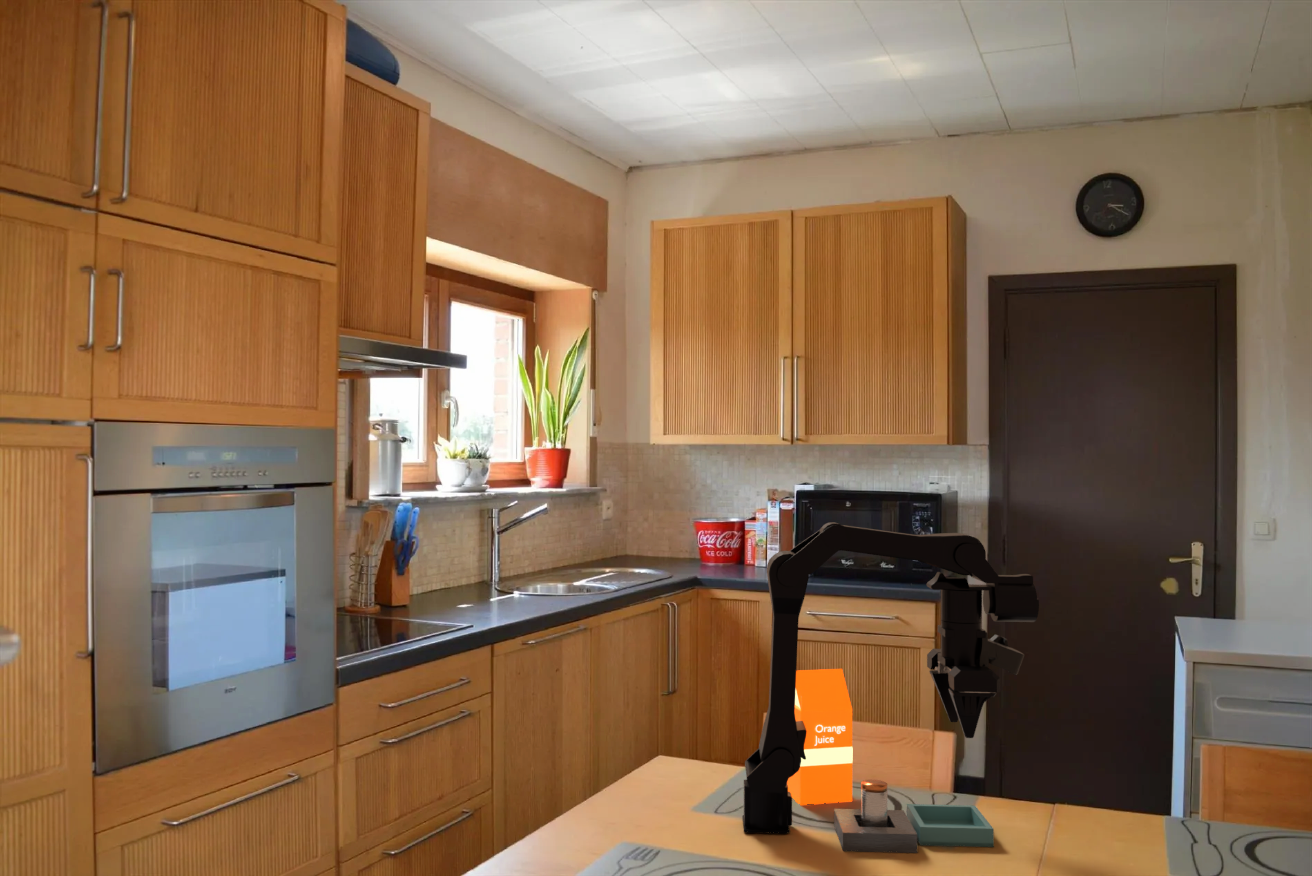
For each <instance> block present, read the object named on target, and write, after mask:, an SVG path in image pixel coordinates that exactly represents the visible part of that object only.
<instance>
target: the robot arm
mask: <svg viewBox="0 0 1312 876" xmlns="http://www.w3.org/2000/svg"><path fill="white" fill-rule="evenodd" d="M839 551H840V552H841V551H844V552H850V553H852V552H853V553H858V554H865V555H871V556H872V555H873V556H881V557H887V558H896V559H902V560H911V561H917V562H920V563H924V564H926V565H930V566H932V567H935V568H938V569H940V570H941V569H942V570H944V571H948V572H951V573H955V574H957V575H961V576H969V577H971V578H972V579H975V580H978V581H980V582H982V583H985V584H971V583H969V582H968V579H967V578H966V577H946V576H945V574H943V573H942V572H941V571H937V572H936V574H935V576H933V578H932V579H930V580H929V581H927V583H926V587H927V588H929V589H931V590H934V591H936V590H937V591H940V624H938V625H937V633H939V634H940V648H932V649H931V650H929V652H928V653H927V654H926V667H927V668H928V669H929V674H930V676H931V678H932V681H933V683H934V686H935V687H936V688H935V689H936V690H937V693H938V695H939V698H940V699H941V703H942V705H943V708H944V710H945V713H946V714H947V718H948V719H949V722H950V723H958V721H959V724H960V727H961V729H962V732H963V735H964V737H965V738H966V739H973V738H974V737H975V733H976V730H977V727H978V723H979V720H980V717H981V712H982V709H983V706H984V704H985V702H987V701H988V700H990V699H991V698H995V696H996V695H997V693H1000V692H1001V678H1000V677H999V675H998V674H997V673H996V672H995V671H994V670H992V669H991V668H990V665H992V666H995V667H998V668H1000V669H1003V670H1005V671H1008V673H1010V674H1012V675H1015V676H1017V675H1018V674H1019V671H1020V668H1021V666H1022V663H1023V660H1024V657H1025V654H1024V653H1023V652H1021V651H1020V650H1017V649H1016V648H1013V647H1011V646H1010V647H1009V641H1008V639H1007V638H1005V637H1004V636H1002V635H1001V636H1000V635H998V634H996V633H995V634H994V635H993V636H992V637H991V638H989V635H988V634H989V633H988V632H987V631H986V630H985V629H984V628H983V611H984V613H985V614H986V615H990V617H991V620H993V622H1008V623H1009V622H1012V623H1013V622H1015V623H1016V622H1019V623H1023V622H1024V623H1025V622H1026V623H1035V622H1036V621H1037V619H1038V617H1039V610H1040V609H1039V608H1040V600H1039V598H1038V594H1037V590H1036V587H1035V583H1034V576H1033V575H1032V574H1028V573H1019V574H1013V575H1011V574H998V573H997V571H996V570H994V568H993V567H992V565H991V564H990V563H989V561H988V560H987V557H986V551H987V550H986V549H985V546H984V544H983V543H982V542H981V541H980V540H979V538H977V537H975V536H972V535H969V534H965V533H961V532H947V533H945V532H944V533H943V532H942V533H929V534H928V533H927V534H911V533H904V532H896V531H895V532H894V531H890V530H889V531H888V530H881V529H873V528H867V527H858V526H853V525H844V524H840V523H837V522H834V521H833V522H827V523H824V524H823V525H822V527H820V529H819V530H817V531H816V532H814V533H813V534H812V535H810V536H809V537H807V538H806V539H804V540H803V541H801V542H800V543H798V544H797V545H796V546H794V547H793V548H792V549H790V550H781V551H778V552H775V554H773V555H772V556H771V557H770V558H769V559H768V561H767V566H766V578H767V584H768V591H769V597H770V604H771V611H772V624H771V645H770V646H771V648H770V667H769V668H770V669H769V670H770V671H769V691H768V695H769V696H768V707H767V711H766V715H765V719H764V721H763V726H762V730H761V734H760V740H759V744H758V748H757V749H755V751H754V752H753V753H752V754H751V755H750V756H749V757H748V758H747V759H746V760H745V761H744V767H745V776H746V779H743V815H742V818H741V819H742V829H743V833H747V834H784V835H785V834H786V835H787V834H790V827H791V826H792V825H793V799H792V796H791V793H790V792H789V791H788V785H787V781H788V779H789V778H790V777H792V776H793V775H794V774H795V773H796V772H798V770H799V768H800V765H801V758H803V759H804V760H805V759H806V756H805V753H804V743H805V739H806V733H807V731H806V728H805V725H804V722H803V721H796V719H795V690H796V671H797V663H798V660H797V659H798V644H799V643H798V637H799V618H800V613H801V610H802V607H803V603H804V600H805V596H806V592H807V587H808V583H809V579H810V578H809V577H810V575H812V574H813V573H814V572H815V571H817V570H818V569H819V568H821V566H823V565H824V564H825V563H826V562H827V561H828V560H829V559H831V558H832V556H834V555H835V554H837V553H838V552H839Z"/></svg>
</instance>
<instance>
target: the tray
mask: <svg viewBox="0 0 1312 876" xmlns="http://www.w3.org/2000/svg"><path fill="white" fill-rule="evenodd" d="M906 816H907V817H908V819H909V821H910V823H911V824H912V826H913V828H914V830H915V831H916V833H917V843H918V844H919V845H920V846H933V847H934V846H935V847H938V846H939V847H968V848H969V847H971V848H972V847H975V848H977V847H978V848H982V847H983V848H994V844H995V843H994V840H995V839H994V834H995V833H994V827H993V826H992V825H991V823H990V822H989V821H988V820H987V818H986V817H985V816H984V815H983V813H982V812H981V811H980V810H979V809H978V807H977V806H976V805H970V804H969V805H968V804H966V805H964V804H932V803H931V804H930V803H929V804H926V803H925V804H924V803H923V804H922V803H921V804H920V803H906Z"/></svg>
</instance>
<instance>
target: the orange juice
mask: <svg viewBox="0 0 1312 876" xmlns="http://www.w3.org/2000/svg"><path fill="white" fill-rule="evenodd" d="M846 682H847V681H846V679H845V676H844V671H843V668H826V669H825V668H824V669H801V670H799V669H798V670H797V669H796V690H795V719H796V721H803V722H804V725H805V728H806V731H807V733H806V739H805V743H804V753H805V756H806V759H805V760H804V759H803V758H801V765H800V768H799V770H798V772H796V773H795V774H794V775H793V776H792V777H790V778H789V779H788V781H787V785H788V791H789V792H790V793H791V796H792V798H793V799H794V800H795V801H794V800H793V799H792V800H793V801H794V802H795V803H797V804H798V805H799V804H800V805H799V806H808V805H807V804H814V805H822V804H823V805H824V803H826V804H837V803H838V802H839V803H851V802H853V762H854V760H853V759H854V757H853V756H854V755H853V754H854V753H853V706H852V703H851V699H850V694H849V691H848V686H847V683H846ZM826 804H825V805H826Z"/></svg>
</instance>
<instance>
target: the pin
mask: <svg viewBox="0 0 1312 876" xmlns="http://www.w3.org/2000/svg"><path fill="white" fill-rule="evenodd" d="M860 791H861V792H860V794H861V795H860V800H861V801H860V804H861V805H860V809H861V827H887V810H888V783H887V781H883V780H881V779H873V778H872V779H865V780H862V781H860Z"/></svg>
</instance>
